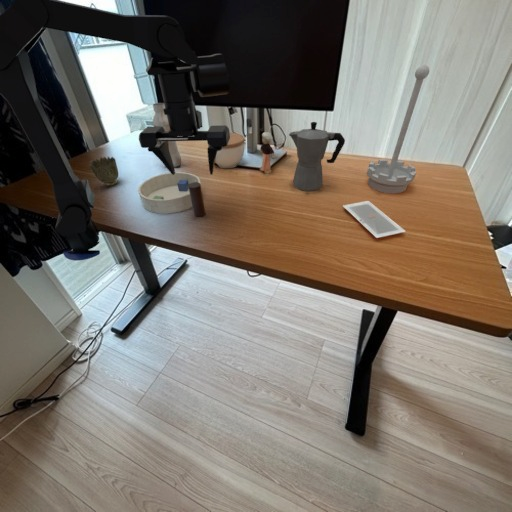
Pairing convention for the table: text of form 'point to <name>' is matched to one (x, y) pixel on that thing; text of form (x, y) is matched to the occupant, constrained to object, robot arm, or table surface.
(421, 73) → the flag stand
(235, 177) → the table surface
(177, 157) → the plastic bottle
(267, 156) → the grandmother figurine
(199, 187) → the brown cylinder
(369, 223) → the touchpad
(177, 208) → the bowl
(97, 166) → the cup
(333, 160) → the coffeepot
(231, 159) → the lidded bowl
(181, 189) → the blue block
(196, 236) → the table surface
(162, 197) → the green block
